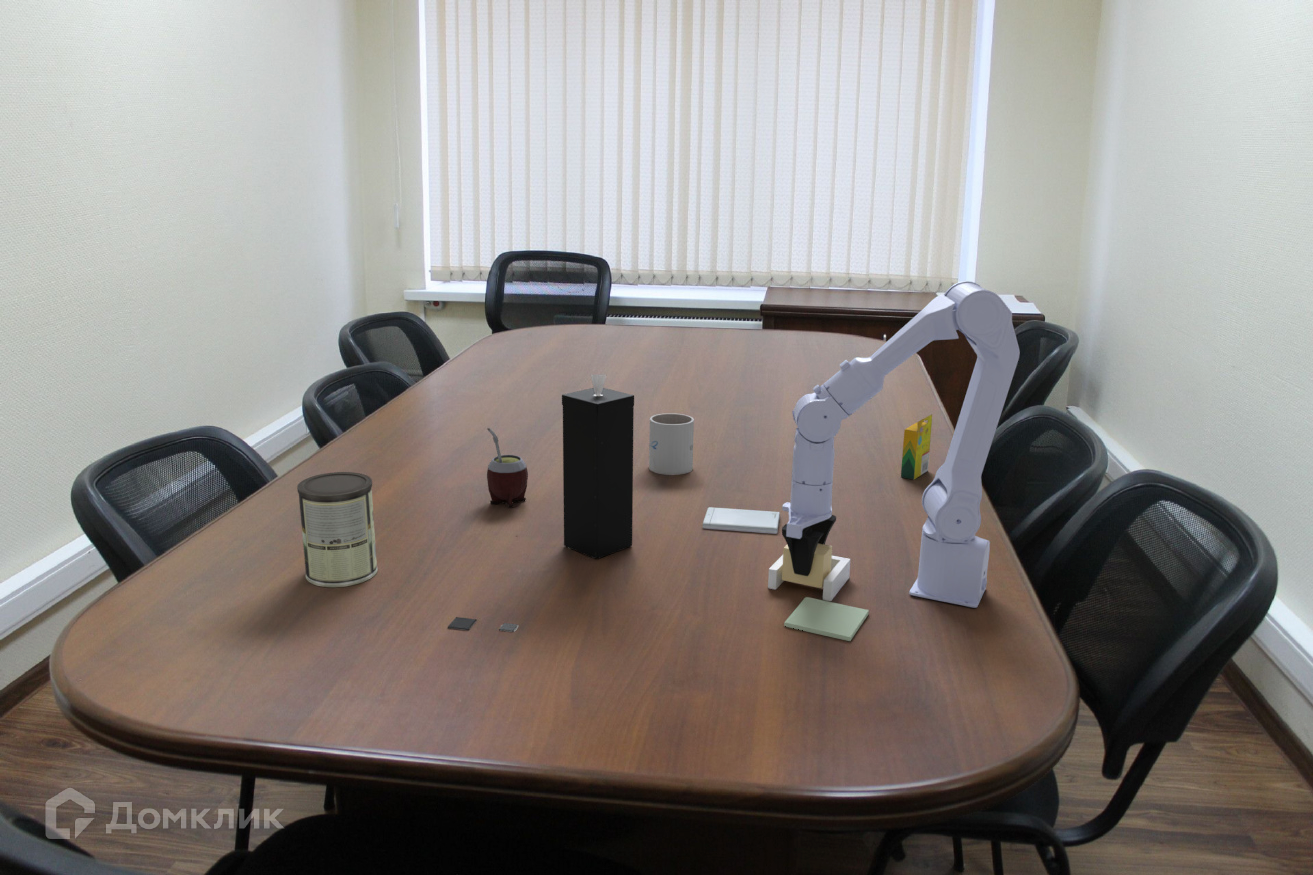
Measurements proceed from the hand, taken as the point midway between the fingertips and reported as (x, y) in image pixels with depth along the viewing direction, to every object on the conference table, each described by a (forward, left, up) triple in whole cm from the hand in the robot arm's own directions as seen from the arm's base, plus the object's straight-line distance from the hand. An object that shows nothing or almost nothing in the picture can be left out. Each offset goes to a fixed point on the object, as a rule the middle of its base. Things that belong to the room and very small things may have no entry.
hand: (806, 568), depth 148 cm
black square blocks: (+36, +33, -4) cm, 49 cm away
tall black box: (+34, +1, -3) cm, 34 cm away
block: (0, 0, -2) cm, 2 cm away
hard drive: (+18, -20, -4) cm, 27 cm away
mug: (+42, -43, -3) cm, 60 cm away
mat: (-6, +9, -3) cm, 11 cm away
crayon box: (-2, -61, -3) cm, 61 cm away
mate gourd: (+58, -9, -3) cm, 59 cm away
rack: (0, -2, -3) cm, 3 cm away
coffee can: (+62, +28, -3) cm, 68 cm away
